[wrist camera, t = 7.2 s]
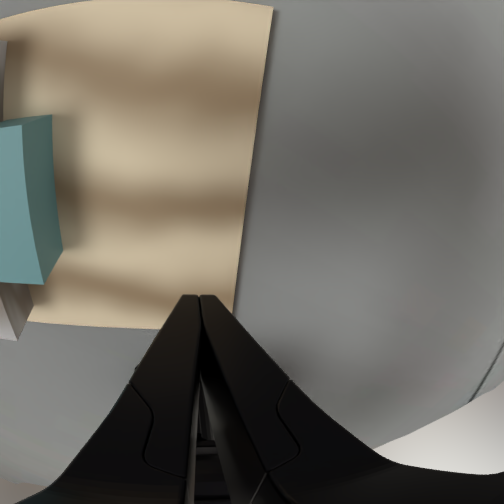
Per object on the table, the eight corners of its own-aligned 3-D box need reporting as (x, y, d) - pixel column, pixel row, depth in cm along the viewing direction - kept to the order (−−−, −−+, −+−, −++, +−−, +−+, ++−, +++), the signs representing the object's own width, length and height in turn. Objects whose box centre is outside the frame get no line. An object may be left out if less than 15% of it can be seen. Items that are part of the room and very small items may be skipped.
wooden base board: (228, 321, 23) (237, 367, 19) (-62, 302, 17) (-84, 334, 13) (269, 10, 13) (294, -10, 10) (-100, 64, 7) (-138, 73, 4)
